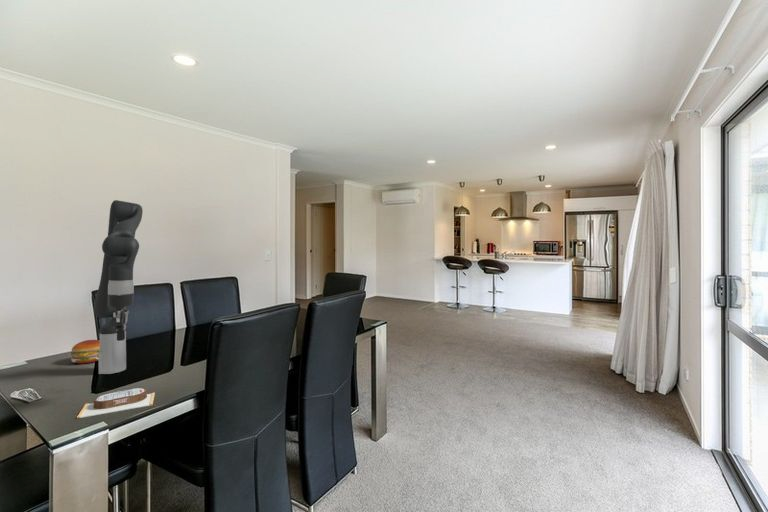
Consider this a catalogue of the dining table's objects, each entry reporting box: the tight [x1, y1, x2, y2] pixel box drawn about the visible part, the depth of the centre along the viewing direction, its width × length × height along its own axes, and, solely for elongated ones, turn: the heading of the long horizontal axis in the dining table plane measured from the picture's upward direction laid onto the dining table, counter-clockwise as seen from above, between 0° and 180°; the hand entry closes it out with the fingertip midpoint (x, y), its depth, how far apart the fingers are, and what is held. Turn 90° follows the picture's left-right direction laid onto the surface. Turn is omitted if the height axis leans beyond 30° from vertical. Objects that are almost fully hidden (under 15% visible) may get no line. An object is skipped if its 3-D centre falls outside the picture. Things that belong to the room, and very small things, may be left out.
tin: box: [93, 387, 148, 409], centre depth 123 cm, size 15×3×8 cm
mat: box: [76, 392, 156, 420], centre depth 121 cm, size 20×11×1 cm, turn 119°
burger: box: [70, 339, 100, 364], centre depth 169 cm, size 13×14×10 cm
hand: (120, 340), depth 127 cm, fingers closed
